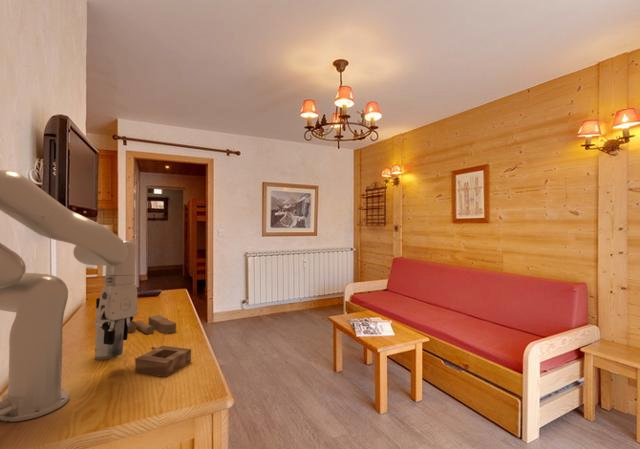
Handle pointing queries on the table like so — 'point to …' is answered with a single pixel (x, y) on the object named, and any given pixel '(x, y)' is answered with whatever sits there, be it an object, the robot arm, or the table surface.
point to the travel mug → (100, 339)
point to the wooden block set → (153, 325)
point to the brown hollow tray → (162, 361)
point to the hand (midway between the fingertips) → (115, 341)
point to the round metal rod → (117, 339)
